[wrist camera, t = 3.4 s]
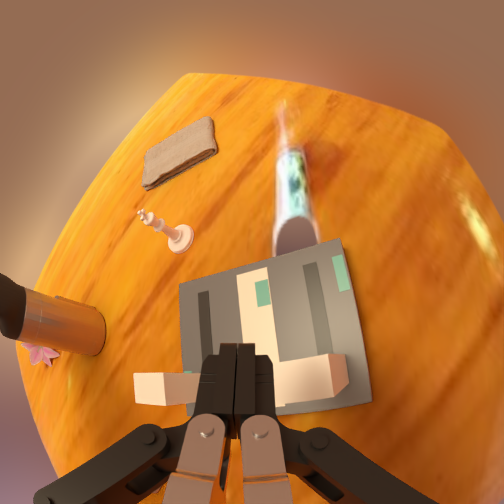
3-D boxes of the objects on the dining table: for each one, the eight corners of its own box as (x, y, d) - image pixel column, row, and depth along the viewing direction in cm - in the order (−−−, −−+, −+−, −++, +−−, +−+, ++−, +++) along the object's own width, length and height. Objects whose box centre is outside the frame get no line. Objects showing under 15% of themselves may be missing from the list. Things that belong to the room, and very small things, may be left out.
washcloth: (149, 158, 60) (141, 151, 57) (214, 119, 54) (207, 109, 52) (147, 196, 54) (137, 189, 52) (220, 154, 49) (212, 144, 46)
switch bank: (372, 397, 25) (372, 401, 22) (201, 413, 33) (186, 416, 30) (343, 247, 33) (339, 237, 30) (191, 289, 40) (178, 283, 38)
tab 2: (349, 382, 24) (333, 397, 16) (310, 389, 25) (276, 404, 17) (344, 354, 25) (327, 353, 17) (306, 361, 27) (271, 363, 18)
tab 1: (224, 397, 29) (165, 405, 20) (196, 397, 30) (135, 402, 22) (222, 372, 30) (163, 372, 22) (194, 374, 31) (133, 372, 23)
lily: (46, 367, 54) (26, 374, 46) (33, 329, 55) (12, 332, 47) (72, 360, 55) (51, 369, 46) (58, 319, 56) (36, 323, 47)
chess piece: (193, 221, 45) (152, 191, 37) (194, 247, 43) (150, 220, 34) (170, 232, 47) (128, 205, 38) (170, 257, 44) (125, 233, 36)
